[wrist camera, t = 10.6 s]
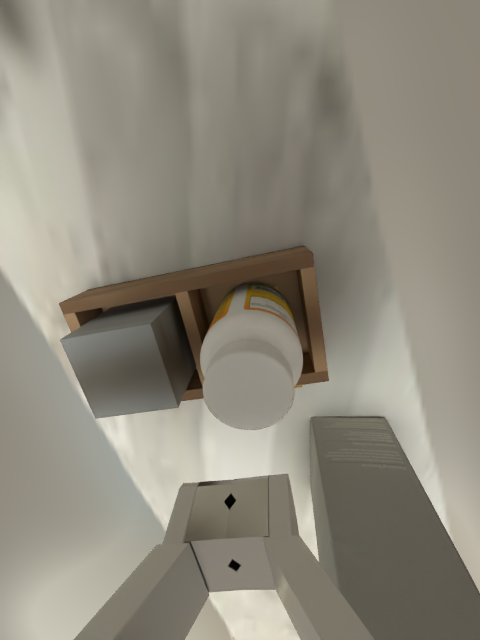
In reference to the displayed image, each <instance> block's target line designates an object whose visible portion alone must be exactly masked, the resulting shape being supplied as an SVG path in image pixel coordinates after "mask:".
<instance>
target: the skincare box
mask: <svg viewBox="0 0 480 640" xmlns="http://www.w3.org/2000/svg"><path fill="white" fill-rule="evenodd" d="M310 470H311V494H312V502H313V511H314V519H315V529H316V537H317V546H318V555H319V563H320V565H321V566H322V568H323V569H324V570H325V572H326V573H327V574H328V576H329V577H330V579H331V580H332V581H333V583H334V584H335V585H336V587H337V588H338V590H339V591H340V592H341V594H342V595H343V597H344V598H345V599H346V601H347V602H348V603H349V605H350V606H351V608H352V609H353V610H354V612H355V613H356V614H357V616H358V617H359V619H360V620H361V621H362V623H363V624H364V626H365V627H366V628H367V630H368V631H369V632H370V634H371V635H372V637H373V638H374V639H375V640H480V593H479V591H478V589H477V587H476V585H475V583H474V581H473V579H472V578H471V576H470V574H469V572H468V570H467V568H466V566H465V564H464V563H463V561H462V559H461V557H460V555H459V553H458V551H457V550H456V548H455V546H454V544H453V542H452V540H451V538H450V537H449V535H448V533H447V531H446V529H445V527H444V526H443V524H442V522H441V520H440V518H439V516H438V514H437V512H436V511H435V509H434V507H433V505H432V503H431V501H430V499H429V497H428V496H427V494H426V492H425V490H424V488H423V486H422V485H421V483H420V481H419V479H418V477H417V475H416V474H415V472H414V470H413V468H412V466H411V464H410V462H409V460H408V458H407V457H406V455H405V453H404V451H403V449H402V447H401V445H400V444H399V442H398V440H397V438H396V436H395V434H394V432H393V430H392V428H391V427H390V425H389V423H388V421H387V420H386V419H385V418H342V417H313V418H311V423H310Z"/></svg>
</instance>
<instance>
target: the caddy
mask: <svg viewBox="0 0 480 640" xmlns="http://www.w3.org/2000/svg"><path fill="white" fill-rule="evenodd" d="M246 283H263V284H266V285H269V286H271V287H273V288H275V289H276V290H278V291H279V292H280V293H281V294H282V295H283V296H284V297H285V299H286V300H287V302H288V304H289V306H290V309H291V312H292V316H293V319H294V323H295V326H296V330H297V334H298V337H299V341H300V344H301V348H302V354H303V368H302V373H301V376H300V378H299V380H298V382H297V384H296V385H295V387H294V388H297V387H302V385H303V384H310V383H318V382H325V381H329V378H328V371H327V363H326V355H325V347H324V339H323V331H322V323H321V315H320V307H319V300H318V292H317V284H316V276H315V268H314V260H313V253H312V252H311V251H310V250H309V249H308V248H306V247H305V246H301V247H296V248H291V249H287V250H282V251H277V252H272V253H267V254H262V255H257V256H252V257H247V258H242V259H237V260H232V261H227V262H222V263H217V264H212V265H208V266H203V267H198V268H193V269H188V270H183V271H178V272H173V273H168V274H163V275H158V276H153V277H148V278H143V279H138V280H133V281H128V282H124V283H119V284H114V285H109V286H104V287H99V288H94V289H89V290H87V291H85V292H83V293H80V294H78V295H76V296H74V297H72V298H69V299H67V300H65V301H63V302H61V303H59V305H60V307H61V310H62V312H63V314H64V317H65V319H66V321H67V324H68V326H69V328H70V330H71V333H70V334H68V335H67V336H65V337H64V338H62V339H61V340H60V341H61V343H62V345H63V348H64V350H65V352H66V354H67V357H68V359H69V361H70V363H71V365H72V368H73V370H74V372H75V374H76V377H77V379H78V381H79V383H80V385H81V388H82V390H83V392H84V394H85V396H86V399H87V401H88V403H89V405H90V408H91V410H92V412H93V414H94V416H95V419H96V418H104V417H111V416H119V415H126V414H134V413H141V412H149V411H156V410H164V409H171V408H178V407H179V405H180V402H181V401H186V400H193V399H201V398H204V396H203V381H204V376H203V373H202V370H201V365H200V352H201V347H202V344H203V341H204V338H205V336H206V334H207V331H208V329H209V327H210V325H211V323H212V321H213V319H214V317H215V314H216V312H217V310H218V308H219V305H220V303H221V302H222V300H223V298H224V297H225V296H226V295H227V294H228V293H229V292H230V291H231V290H232V289H234V288H235V287H237V286H240V285H242V284H246Z"/></svg>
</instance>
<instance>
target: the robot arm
mask: <svg viewBox="0 0 480 640" xmlns="http://www.w3.org/2000/svg"><path fill="white" fill-rule="evenodd" d="M233 590H276V591H277V593H278V595H279V597H280V599H281V601H282V603H283V605H284V607H285V609H286V611H287V613H288V615H289V617H290V619H291V621H292V623H293V625H294V627H295V629H296V631H297V633H298V635H299V637H300V639H301V640H375V639H374V638H373V637H372V635H371V634H370V632H369V631H368V630H367V628H366V627H365V626H364V624H363V623H362V621H361V620H360V619H359V617H358V616H357V614H356V613H355V612H354V610H353V609H352V608H351V606H350V605H349V603H348V602H347V601H346V599H345V598H344V597H343V595H342V594H341V592H340V591H339V590H338V588H337V587H336V585H335V584H334V583H333V581H332V580H331V579H330V577H329V576H328V574H327V573H326V572H325V570H324V569H323V568H322V566H321V565H320V563H319V562H318V561H317V559H316V558H315V556H314V555H313V554H312V552H311V551H310V550H309V548H308V547H307V545H306V544H305V543H304V541H303V540H302V538H301V537H300V536H299V532H298V524H297V518H296V512H295V506H294V501H293V495H292V490H291V485H290V480H289V476H288V474H280V475H270V476H269V475H268V476H259V477H250V478H241V479H234V480H223V481H208V482H196V483H183V484H182V486H181V487H180V489H179V491H178V495H177V498H176V501H175V504H174V508H173V511H172V514H171V518H170V521H169V524H168V527H167V531H166V534H165V537H164V541H163V544H159V545H156V546H155V547H154V549H153V550H152V551H151V552H150V553H149V554H148V556H147V557H146V558H145V559H144V560H143V561H142V562H141V563H140V565H139V566H138V567H137V568H136V569H135V571H133V573H132V574H131V575H130V576H129V577H128V578H127V579H126V581H125V582H124V583H123V584H122V585H121V586H120V587H119V589H118V590H117V591H116V592H115V593H114V594H113V595H112V597H111V598H110V599H109V600H108V601H107V602H106V603H105V604H104V606H103V607H102V608H101V609H100V610H99V611H98V613H97V614H96V615H95V616H94V617H93V618H92V619H91V621H90V622H89V623H88V624H87V625H86V626H85V627H84V628H83V630H82V631H81V632H80V633H79V634H78V636H76V638H75V639H74V640H185V638H186V636H187V635H188V633H189V631H190V629H191V627H192V625H193V624H194V622H195V620H196V618H197V616H198V615H199V613H200V611H201V609H202V607H203V605H204V603H205V602H206V600H207V598H208V596H209V593H208V592H220V591H233Z"/></svg>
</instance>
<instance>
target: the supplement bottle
mask: <svg viewBox="0 0 480 640" xmlns="http://www.w3.org/2000/svg"><path fill="white" fill-rule="evenodd" d="M200 365H201V370H202V373H203V376H204V381H203V396H204V400H205V403H206V405H207V407H208V408H209V410H210V411H211V413H212V414H213V415H214V416H215V417H216V418H217V419H219V420H220V421H221V422H223V423H225V424H227V425H229V426H231V427H234V428H238V429H244V430H257V429H262V428H266V427H269V426H271V425H273V424H275V423H277V422H278V421H280V420H281V419H282V418H283V417H284V416H285V415H286V414H287V413H288V411H289V409H290V408H291V406H292V403H293V400H294V393H295V391H294V387H295V385H296V384H297V382H298V380H299V378H300V376H301V373H302V368H303V354H302V348H301V344H300V341H299V337H298V334H297V330H296V326H295V323H294V319H293V316H292V312H291V309H290V306H289V304H288V302H287V300H286V299H285V297H284V296H283V295H282V294H281V293H280V292H279V291H278V290H276V289H275V288H273V287H271V286H269V285H266V284H263V283H246V284H242V285H240V286H237V287H235V288H234V289H232V290H231V291H230V292H229V293H228V294H227V295H226V296H225V297H224V298H223V300H222V302H221V303H220V305H219V308H218V310H217V312H216V314H215V317H214V319H213V321H212V323H211V325H210V327H209V329H208V331H207V334H206V336H205V338H204V341H203V344H202V347H201V352H200Z"/></svg>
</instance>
